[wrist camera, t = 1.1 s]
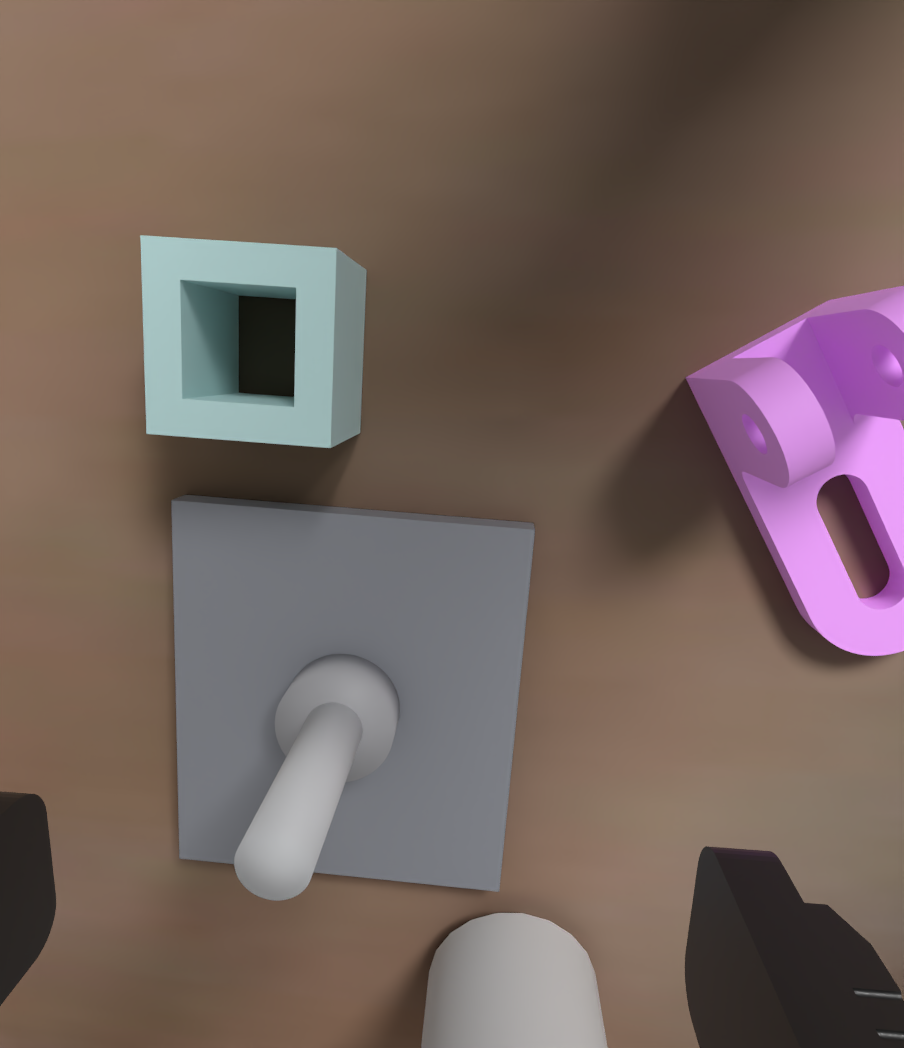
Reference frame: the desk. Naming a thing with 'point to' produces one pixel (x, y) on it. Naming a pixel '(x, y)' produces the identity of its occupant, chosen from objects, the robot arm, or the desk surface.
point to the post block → (346, 690)
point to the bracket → (821, 452)
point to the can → (512, 988)
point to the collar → (213, 340)
